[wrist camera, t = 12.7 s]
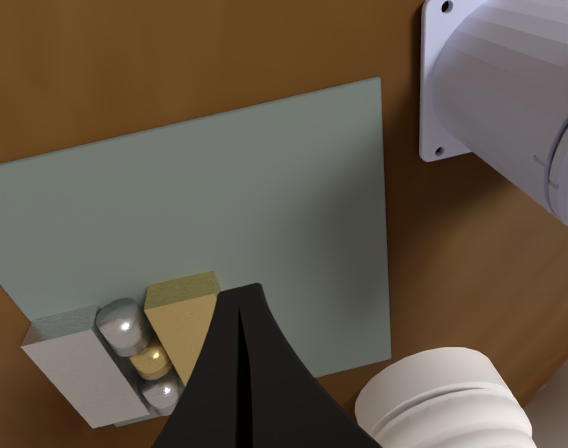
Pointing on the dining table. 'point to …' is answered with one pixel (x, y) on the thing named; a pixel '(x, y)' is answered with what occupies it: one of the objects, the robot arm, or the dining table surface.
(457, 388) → the honey pot
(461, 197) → the dining table surface
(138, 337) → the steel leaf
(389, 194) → the dining table surface
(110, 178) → the mat
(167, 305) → the tan knobbed block
